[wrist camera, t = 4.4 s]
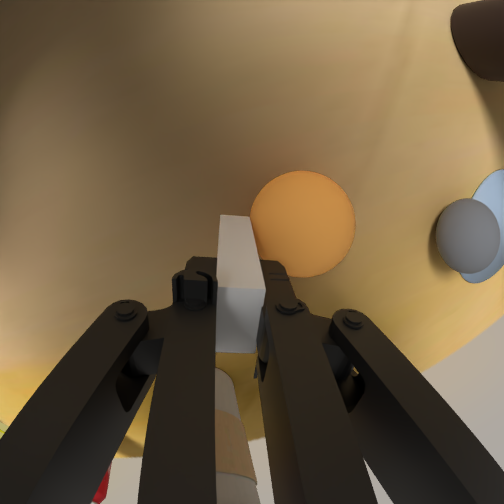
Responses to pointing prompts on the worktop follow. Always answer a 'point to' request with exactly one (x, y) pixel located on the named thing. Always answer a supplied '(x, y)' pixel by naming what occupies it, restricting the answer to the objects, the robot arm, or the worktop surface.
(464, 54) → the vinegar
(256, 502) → the coffee cup
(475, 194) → the mark
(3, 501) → the robot arm
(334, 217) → the ball
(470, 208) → the ball
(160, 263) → the worktop surface
